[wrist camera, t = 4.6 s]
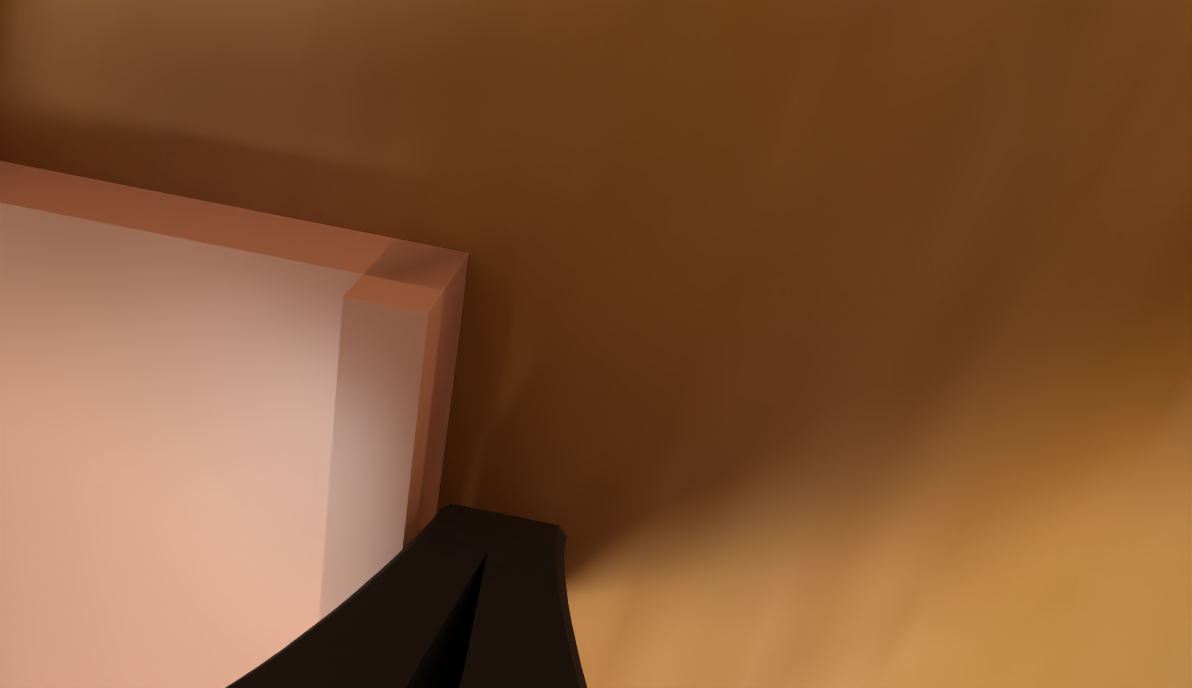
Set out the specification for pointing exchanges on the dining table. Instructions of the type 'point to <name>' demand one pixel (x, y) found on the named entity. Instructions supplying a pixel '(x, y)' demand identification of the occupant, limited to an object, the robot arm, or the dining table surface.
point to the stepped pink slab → (203, 426)
